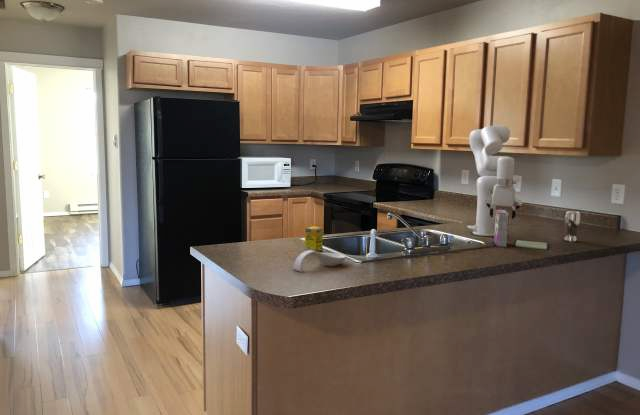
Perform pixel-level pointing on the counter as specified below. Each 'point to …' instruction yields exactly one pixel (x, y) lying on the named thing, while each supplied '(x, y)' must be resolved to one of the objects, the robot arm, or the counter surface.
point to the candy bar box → (501, 228)
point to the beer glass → (571, 225)
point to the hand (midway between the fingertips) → (502, 217)
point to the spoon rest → (324, 258)
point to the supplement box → (314, 239)
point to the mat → (531, 244)
